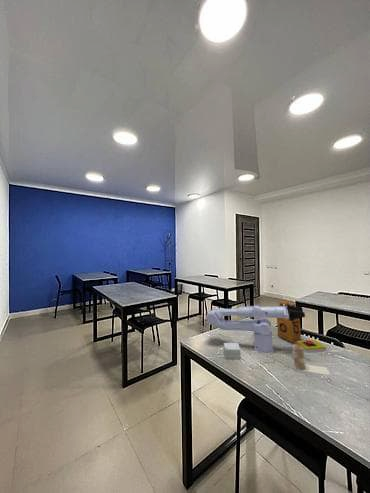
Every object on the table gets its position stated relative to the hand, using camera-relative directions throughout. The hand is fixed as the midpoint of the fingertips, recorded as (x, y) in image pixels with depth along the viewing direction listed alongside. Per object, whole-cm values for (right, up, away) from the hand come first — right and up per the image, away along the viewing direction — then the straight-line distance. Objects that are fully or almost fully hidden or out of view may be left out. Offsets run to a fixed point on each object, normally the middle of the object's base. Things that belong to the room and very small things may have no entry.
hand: (303, 312), depth 109 cm
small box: (-36, -23, +2) cm, 43 cm away
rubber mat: (-6, -22, -12) cm, 26 cm away
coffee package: (+2, -22, +19) cm, 29 cm away
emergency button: (+7, -22, +6) cm, 24 cm away
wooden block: (-8, -21, -12) cm, 26 cm away
